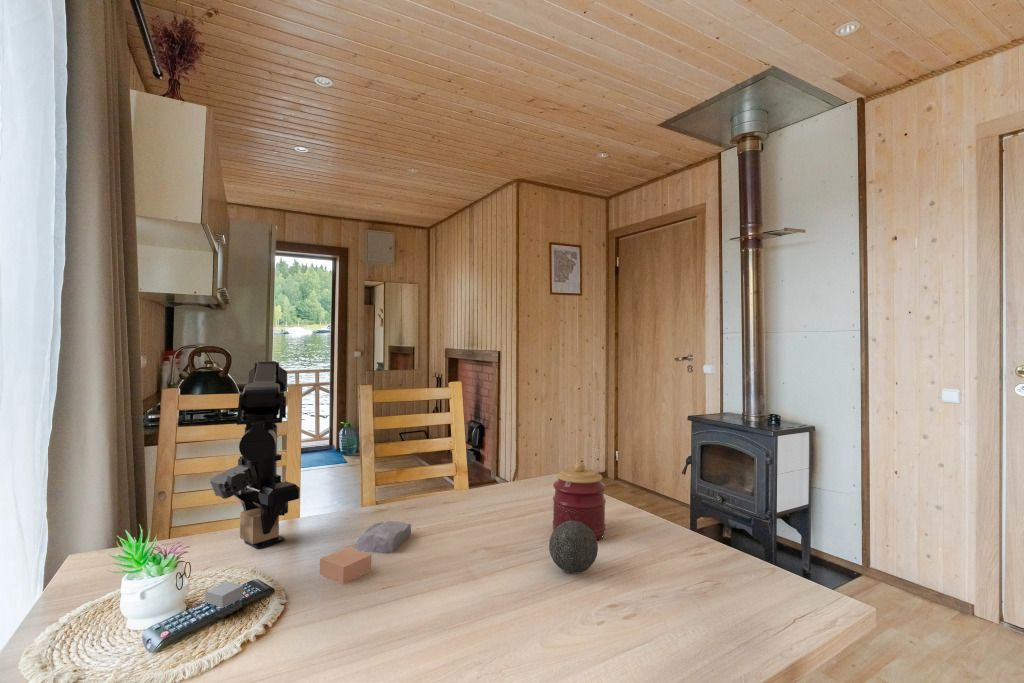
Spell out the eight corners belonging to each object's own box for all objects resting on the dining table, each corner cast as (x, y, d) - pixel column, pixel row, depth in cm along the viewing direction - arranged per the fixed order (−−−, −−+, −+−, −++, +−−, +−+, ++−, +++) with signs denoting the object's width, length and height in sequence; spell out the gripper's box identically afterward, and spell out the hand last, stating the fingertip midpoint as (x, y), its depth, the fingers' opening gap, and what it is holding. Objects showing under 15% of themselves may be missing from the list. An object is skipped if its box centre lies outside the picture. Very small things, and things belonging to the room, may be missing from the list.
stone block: (353, 559, 111) (394, 554, 109) (349, 537, 111) (391, 532, 110) (377, 541, 123) (415, 536, 121) (374, 521, 123) (411, 516, 121)
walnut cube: (239, 538, 97) (240, 512, 97) (265, 530, 101) (265, 505, 101) (252, 544, 94) (253, 517, 94) (278, 536, 98) (278, 510, 98)
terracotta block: (319, 576, 99) (320, 558, 99) (348, 563, 105) (348, 546, 105) (343, 585, 96) (343, 567, 96) (371, 571, 102) (371, 554, 102)
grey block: (204, 615, 84) (205, 591, 84) (225, 603, 88) (226, 581, 88) (222, 620, 83) (222, 595, 83) (242, 608, 87) (243, 585, 87)
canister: (613, 530, 125) (614, 460, 125) (592, 547, 114) (593, 471, 115) (566, 520, 132) (567, 453, 132) (543, 535, 121) (543, 463, 122)
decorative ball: (538, 570, 102) (539, 522, 103) (567, 556, 110) (568, 510, 110) (578, 587, 96) (579, 535, 96) (607, 570, 103) (607, 522, 103)
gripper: (194, 450, 96) (193, 531, 96) (241, 465, 85) (240, 556, 85) (252, 442, 105) (251, 516, 105) (302, 454, 94) (300, 537, 94)
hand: (259, 530), depth 97 cm, fingers closed on walnut cube, 5 cm apart
